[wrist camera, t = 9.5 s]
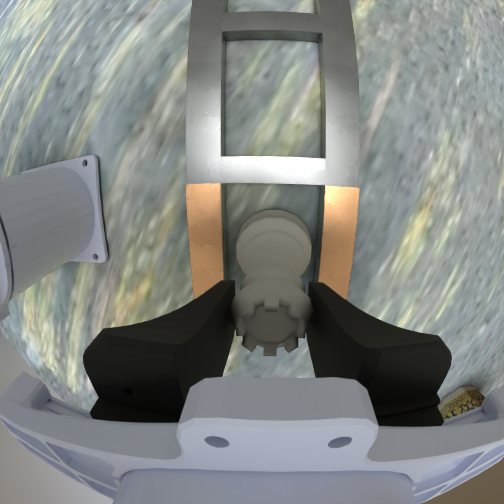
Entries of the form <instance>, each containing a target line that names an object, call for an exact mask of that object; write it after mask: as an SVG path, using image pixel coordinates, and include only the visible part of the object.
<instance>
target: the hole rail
mask: <svg viewBox="0 0 504 504" xmlns="http://www.w3.org/2000/svg"><path fill="white" fill-rule="evenodd" d="M227 1H228V0H192V8H191V19H190V31H189V45H188V63H187V88H186V171H187V184H186V200H187V219H188V235H189V249H190V261H191V273H192V283H193V293H194V299H196V298H197V297H199V296H200V295H202V294H203V293H204V292H206V291H207V290H209V289H210V288H211V287H212V286H214V285H215V284H216V283H218V282H219V281H221V280H228V268H227V237H226V193H225V183H282V184H310V185H320V199H319V218H318V234H317V248H316V260H315V271H314V282H323V283H325V284H326V285H327V286H329V287H330V288H331V289H332V290H334V291H335V292H336V293H337V294H339V295H340V296H341V297H343V298H344V299H345V300H347V294H348V288H349V281H350V275H351V267H352V260H353V252H354V244H355V235H356V225H357V214H358V201H359V188H358V184H359V161H360V104H359V82H358V67H357V55H356V45H355V36H354V28H353V21H352V14H351V8H350V2H349V0H314V1H315V11H316V14H310V13H298V12H274V11H257V12H233V13H227ZM255 39H274V40H299V41H312V42H318V47H319V64H320V88H321V158H303V157H272V156H233V157H225V65H226V41H231V40H255Z"/></svg>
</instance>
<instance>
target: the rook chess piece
mask: <svg viewBox="0 0 504 504" xmlns="http://www.w3.org/2000/svg"><path fill="white" fill-rule="evenodd" d="M311 251H312V245H311V237H310V234H309V232H308V229H307V226H306V225H305V224H304V223H303V222H302V221H301V220H300V219H299V218H298V217H297V216H295V215H293V214H291V213H288V212H286V211H284V210H264V211H262V212H259V213H257V214H254V215H252V216H251V217H250V218H249V219H248V220H247V221H246V222H245V223H244V224H243V225H242V226H241V229H240V231H239V234H238V236H237V243H236V258H237V261H238V263H239V265H240V267H241V269H242V271H243V273H245V274H246V277H244V280H243V282H242V284H241V286H240V291H239V292H238V293H237V294H236V295H235V296H234V298H233V301H232V303H231V305H230V307H229V311H230V321H231V323H232V324H233V326H234V327H235V329H236V336H243V343H242V346H244V347H245V348H247V349H248V350H249V351H251V352H252V351H253V350H254V349H255V348H256V345H258V346H261V347H264V355H263V356H276V348H278V347H282V346H285V350H286V351H287V352H288V353H289V352H291V351H293V350H294V349H296V348H298V338H305V333H306V331H307V330H308V328H309V327H310V325H311V324H312V321H313V315H314V308H313V306H312V303H311V300H310V298H309V296H307V295H306V294H305V287H304V285H303V282H302V280H301V278H300V276H301V275H302V274H303V273H304V271H305V270H306V268H307V266H308V264H309V263H310V260H311Z"/></svg>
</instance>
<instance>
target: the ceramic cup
mask: <svg viewBox="0 0 504 504" xmlns="http://www.w3.org/2000/svg"><path fill="white" fill-rule="evenodd" d="M484 399H485V397H484V396H483V395H482V394H481V393H480V392H479V391H478V390H477V389H476V388H475V387H474V386H463V387H460V388H458V389H457V390H455V391H454V392H452V393H451V394H449V395H448V396H446V397H445V398H444V399H443V400H442V401H441V402H440V404H439V405H438V406H437V407H438V409H439V411H440V413H441V415H442V417H443V419H444V420H445V419H448V418H451V417H454V416H457V415H459V414H462V413H465V412H467V411H470V410H473V409H475V408H478V407H480V406H481V405H482V403H483V401H484Z"/></svg>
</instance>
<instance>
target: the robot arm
mask: <svg viewBox="0 0 504 504" xmlns="http://www.w3.org/2000/svg"><path fill="white" fill-rule="evenodd" d="M86 160H87V162H88V163H87V166H86V164H85V162H86ZM96 254H97V255H98V258H97V257H96ZM107 259H108V253H107V247H106V240H105V234H104V226H103V218H102V209H101V199H100V187H99V172H98V158H97V157H96V156H95V155H89V156H84V157H79V158H74V159H70V160H65V161H61V162H57V163H53V164H49V165H45V166H41V167H37V168H34V169H30V170H27V171H23V172H22V173H21V174H18V175H13V176H8V177H4V178H0V322H1V321H3V320H4V319H5V318H6V317H7V316H9V315H10V312H9V307H8V302H9V301H11V300H12V299H13V298H15V297H16V296H18V295H19V294H20V293H22V292H23V291H25V290H26V289H27V288H29V287H30V286H32V285H33V284H35V283H36V282H37V281H39V280H40V279H42V278H43V277H45V276H46V275H48V274H49V273H51V272H52V271H54V270H55V269H57V268H59V267H60V266H62V265H63V264H65V263H66V262H68V261H74V262H92V263H104V262H105V261H107ZM234 296H235V281H232V280H221V281H219V282H218V283H216V284H215V285H214V286H212V287H211V288H210V289H209V290H207V291H206V292H204V293H203V294H202V295H200V296H199V297H197V298H196V299H194V300H193V301H191V302H189V303H188V304H186V305H185V306H183V307H181V308H179V309H177V310H175V311H173V312H171V313H168V314H166V315H163V316H160V317H158V318H155V319H152V320H149V321H145V322H141V323H137V324H133V325H128V326H121V327H113V328H104V329H103V330H102V331H101V332H100V333H99V334H98V335H97V337H96V338H95V339H94V340H93V341H92V343H91V344H90V345H89V346H88V347H87V349H86V350H85V352H84V355H83V364H84V367H85V370H86V373H87V375H88V377H89V379H90V381H91V383H92V385H93V387H94V389H95V391H96V393H97V395H98V397H99V398H98V400H97V401H96V403H95V405H94V406H93V408H92V409H91V411H90V412H89V411H87V410H84V409H81V408H79V407H76V406H74V405H71V404H69V403H66V402H64V401H61V400H59V399H57V398H55V397H53V396H51V394H50V392H49V390H48V388H47V387H46V385H45V384H44V383H43V382H42V381H41V380H40V379H38V378H36V377H34V376H32V375H30V374H28V373H26V372H22V373H21V374H20V375H19V376H18V377H17V378H16V379H15V381H14V382H13V383H12V384H11V385H10V386H9V388H8V389H7V390H6V391H5V392H4V393H3V395H2V396H1V397H0V420H1V422H2V423H3V424H4V425H5V427H6V428H7V429H8V430H9V431H10V433H11V434H12V435H13V436H14V437H15V438H16V439H17V440H18V442H19V443H20V444H21V445H22V446H23V447H24V448H25V449H27V450H28V451H29V452H31V453H32V454H34V455H35V456H37V457H38V458H40V459H41V460H43V461H44V462H46V463H48V464H49V465H51V466H52V467H54V468H55V469H57V470H59V471H60V472H62V473H64V474H65V475H67V476H69V477H70V478H72V479H74V480H76V481H78V482H79V483H81V484H83V485H85V486H86V487H88V488H90V489H92V490H94V491H96V492H98V493H100V494H102V495H104V496H106V497H109V498H111V499H113V500H114V501H113V504H420V503H422V502H425V501H427V500H429V499H432V498H434V497H436V496H438V495H440V494H442V493H444V492H446V491H448V490H450V489H452V488H454V487H456V486H458V485H460V484H461V483H463V482H465V481H467V480H468V479H470V478H472V477H474V476H476V475H477V474H479V473H481V472H482V471H484V470H486V469H487V468H489V467H491V466H492V465H494V464H495V463H497V462H498V461H500V460H501V459H502V458H503V457H504V385H503V386H501V387H499V388H497V389H495V390H493V391H491V392H490V393H489V394H488V395H487V397H486V398H485V399H484V401H483V403H482V405H481V406H480V407H478V408H475V409H473V410H470V411H467V412H465V413H462V414H459V415H457V416H454V417H451V418H448V419H445V420H444V419H443V417H442V415H441V413H440V411H439V409H438V407H437V405H438V404H439V403H440V398H439V396H438V395H437V392H438V390H439V388H440V386H441V385H442V383H443V381H444V379H445V377H446V375H447V373H448V371H449V368H450V366H451V360H452V356H451V352H450V350H449V349H448V347H447V346H446V345H445V343H444V342H443V341H442V339H441V338H440V337H439V336H438V335H431V334H425V333H419V332H415V331H411V330H407V329H403V328H400V327H397V326H394V325H391V324H389V323H386V322H384V321H381V320H379V319H377V318H375V317H373V316H371V315H369V314H367V313H365V312H363V311H362V310H360V309H358V308H357V307H355V306H354V305H352V304H351V303H349V302H348V301H347V300H345V299H344V298H343V297H341V296H340V295H339V294H337V293H336V292H335V291H334V290H332V289H331V288H330V287H329V286H327V285H326V284H325V283H323V282H309V290H308V296H309V298H310V300H311V303H312V306H313V308H314V315H313V321H312V324H311V325H310V327H309V328H308V330H307V331H306V336H307V342H308V346H309V351H310V355H311V359H312V363H313V368H314V372H315V377H316V378H250V377H233V376H225V377H222V376H223V372H224V369H225V365H226V362H227V359H228V355H229V352H230V348H231V345H232V341H233V338H234V332H235V327H234V326H233V324H232V323H231V321H230V311H229V307H230V305H231V303H232V301H233V298H234ZM0 336H1V331H0Z"/></svg>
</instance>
